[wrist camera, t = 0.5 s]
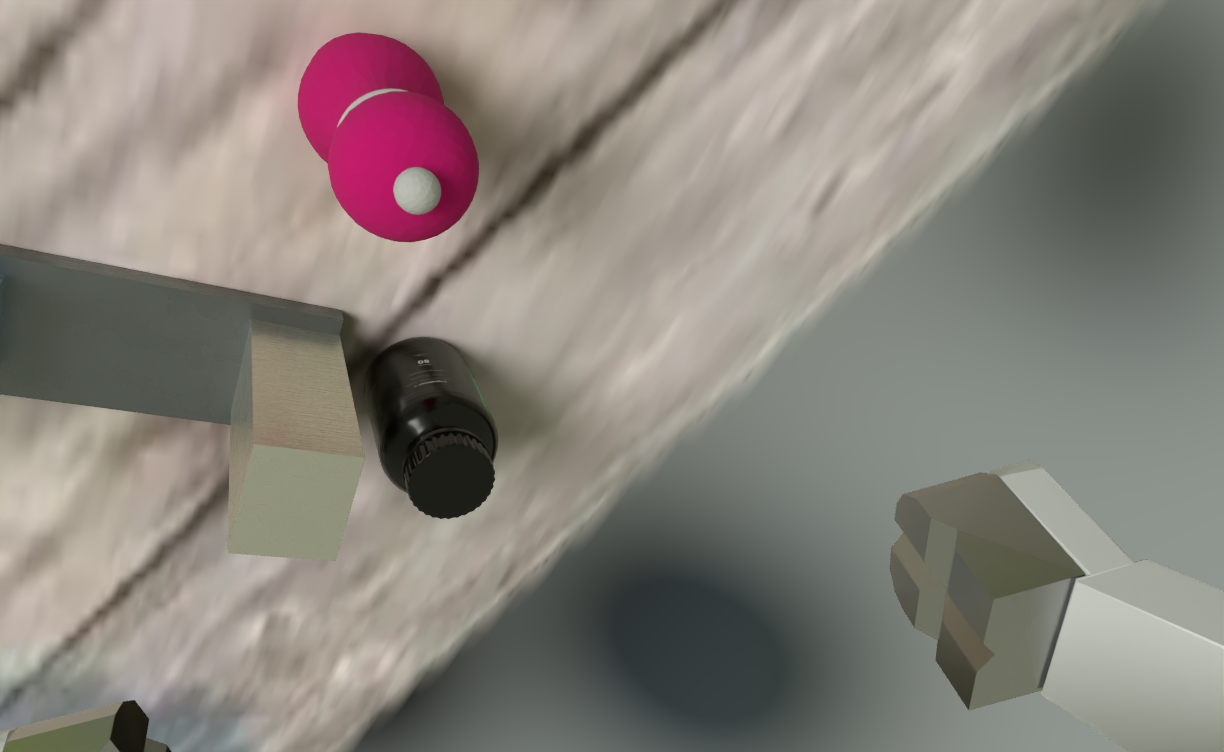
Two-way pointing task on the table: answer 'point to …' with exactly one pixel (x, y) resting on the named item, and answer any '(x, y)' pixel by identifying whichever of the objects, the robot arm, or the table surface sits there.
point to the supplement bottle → (432, 426)
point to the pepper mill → (387, 137)
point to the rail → (199, 382)
